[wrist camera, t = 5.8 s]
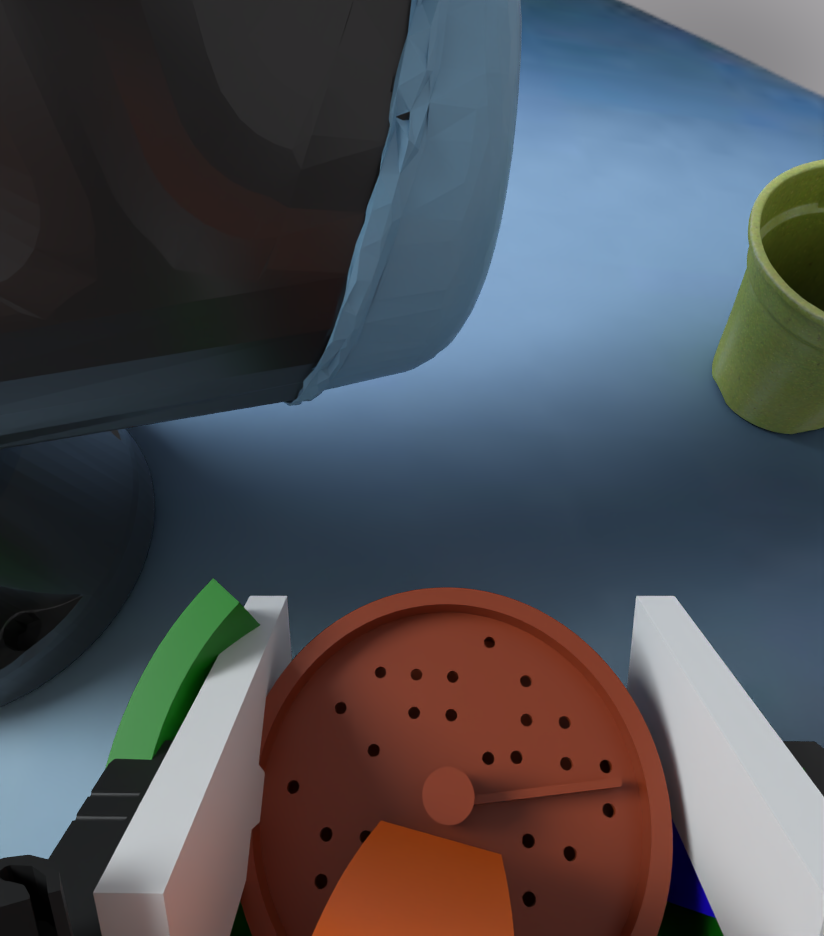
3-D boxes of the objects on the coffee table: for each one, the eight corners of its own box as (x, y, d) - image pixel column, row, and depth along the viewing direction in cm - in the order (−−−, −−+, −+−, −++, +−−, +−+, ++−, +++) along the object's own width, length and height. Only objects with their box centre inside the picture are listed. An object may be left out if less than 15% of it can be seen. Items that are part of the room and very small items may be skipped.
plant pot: (643, 410, 31) (714, 277, 23) (713, 280, 34) (795, 127, 27) (847, 504, 28) (1003, 389, 21) (899, 353, 32) (1048, 208, 24)
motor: (587, 706, 24) (951, 432, 7) (604, 1009, 20) (1639, 2318, 3) (319, 689, 25) (19, 404, 8) (283, 978, 21) (-567, 1838, 3)
